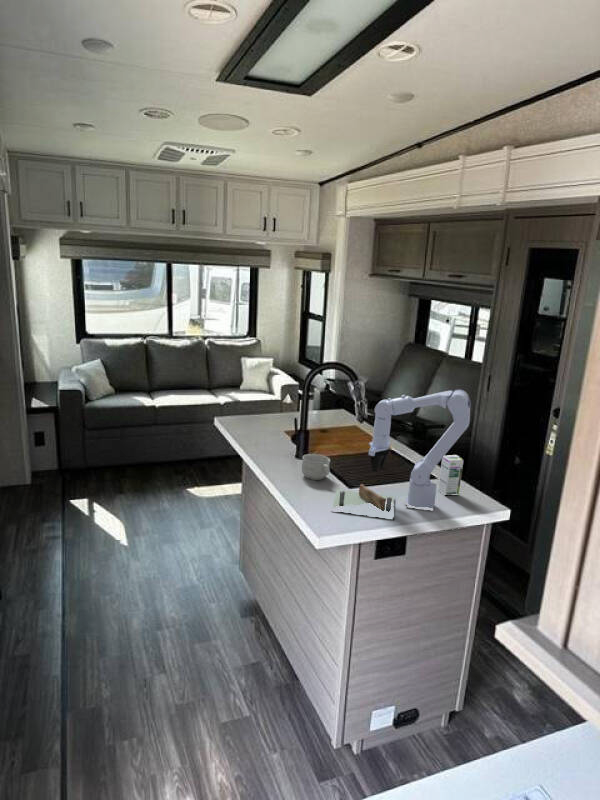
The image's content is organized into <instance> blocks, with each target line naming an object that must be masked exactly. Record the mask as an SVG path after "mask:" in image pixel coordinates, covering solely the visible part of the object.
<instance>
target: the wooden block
mask: <svg viewBox="0 0 600 800" xmlns="http://www.w3.org/2000/svg"><path fill="white" fill-rule="evenodd" d="M358 492H359V496H361V497H362V498H364V499H365V500H367V501H368V502H370V503H371V504H373V505H374V506H376V507H377V508H379V509H381V510H382V511H384V510H385V502H386V499H385V498H383V497H381V496H379V495H380V494H378V493H376V492H375V491H373V490H372V489H370V488H369V487H367V486H366V485H365V484H359V490H358Z"/></svg>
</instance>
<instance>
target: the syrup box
mask: <svg viewBox="0 0 600 800" xmlns="http://www.w3.org/2000/svg"><path fill="white" fill-rule="evenodd" d="M463 465H464V459H463V458H462V457H460V455H457V454H452V455H450V454H449V455H446V454H445V455H444V456H443V458H442V459H441V465H440V471H439V480H438V487H437V490H440V491H441V492H442V493H444V494H445V495H452V494H459V495H460V489H461V482H462V481H461V479H462V474H463V473H462V472H463V468H464V467H463ZM442 493H441V494H442Z"/></svg>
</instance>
